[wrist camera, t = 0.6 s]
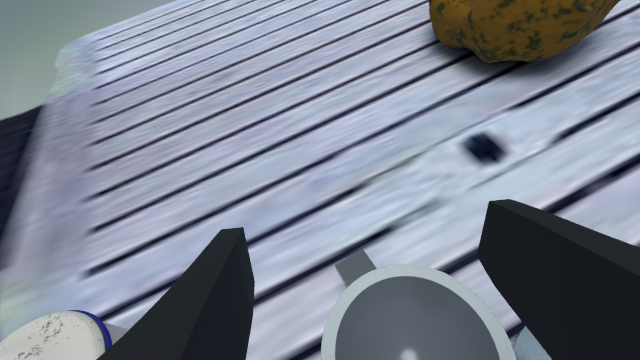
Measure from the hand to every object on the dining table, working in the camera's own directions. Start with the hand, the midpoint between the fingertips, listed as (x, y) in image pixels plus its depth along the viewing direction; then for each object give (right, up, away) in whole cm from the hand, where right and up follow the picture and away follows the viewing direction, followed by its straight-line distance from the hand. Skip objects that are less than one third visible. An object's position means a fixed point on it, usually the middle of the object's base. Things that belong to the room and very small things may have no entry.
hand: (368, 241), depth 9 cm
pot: (+5, -11, +13) cm, 18 cm away
